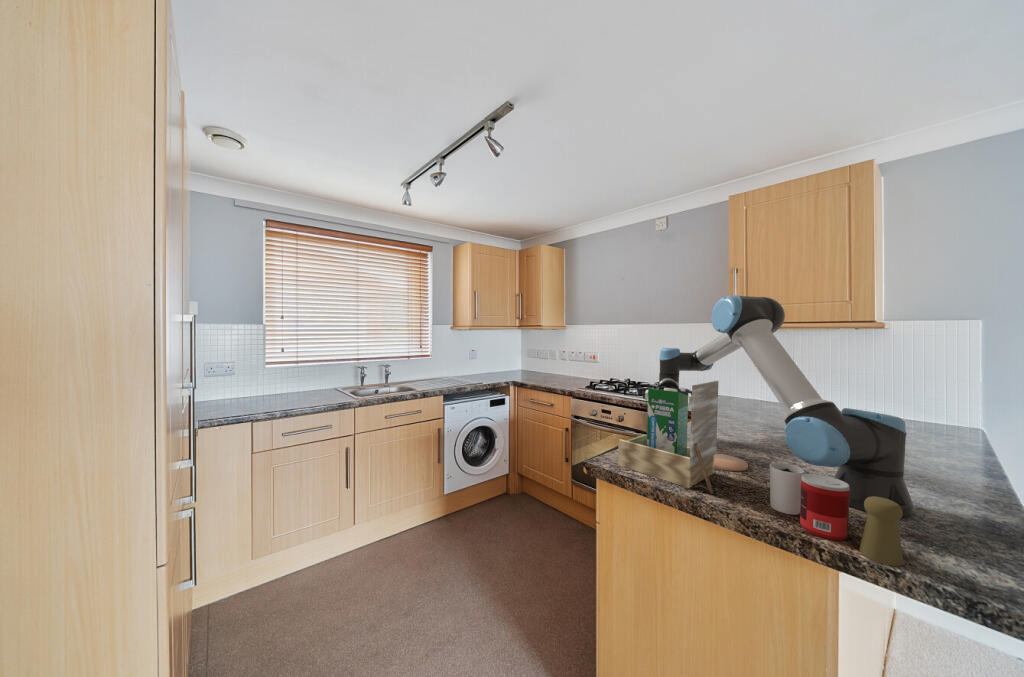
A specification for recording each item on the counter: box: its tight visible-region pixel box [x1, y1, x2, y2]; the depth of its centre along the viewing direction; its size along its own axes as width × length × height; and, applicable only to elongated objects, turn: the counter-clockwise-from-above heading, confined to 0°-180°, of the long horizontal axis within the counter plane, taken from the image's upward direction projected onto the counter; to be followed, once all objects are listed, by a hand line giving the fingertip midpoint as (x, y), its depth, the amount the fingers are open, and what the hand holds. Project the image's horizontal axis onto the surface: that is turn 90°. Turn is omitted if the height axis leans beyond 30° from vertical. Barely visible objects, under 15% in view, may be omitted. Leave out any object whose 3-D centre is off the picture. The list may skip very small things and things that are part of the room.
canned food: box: [799, 473, 850, 541], centre depth 79 cm, size 8×8×11 cm
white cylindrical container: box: [769, 462, 805, 515], centre depth 89 cm, size 7×7×10 cm
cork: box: [858, 496, 905, 567], centre depth 70 cm, size 6×6×11 cm
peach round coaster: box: [714, 452, 749, 472], centre depth 120 cm, size 13×13×1 cm
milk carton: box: [646, 388, 689, 457], centre depth 114 cm, size 9×9×25 cm
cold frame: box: [617, 380, 720, 495], centre depth 111 cm, size 28×17×28 cm, turn 41°
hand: (667, 398), depth 123 cm, fingers open, 13 cm apart
